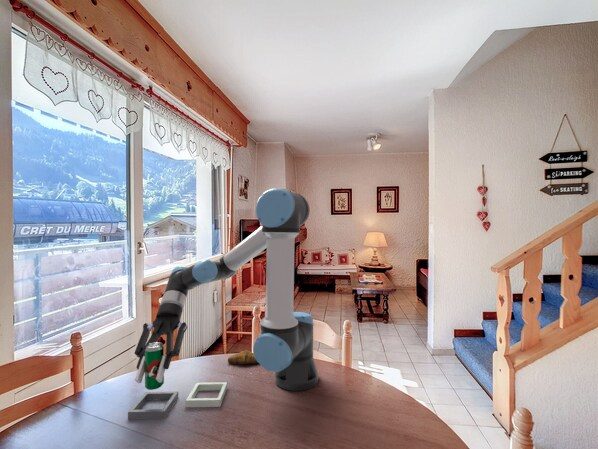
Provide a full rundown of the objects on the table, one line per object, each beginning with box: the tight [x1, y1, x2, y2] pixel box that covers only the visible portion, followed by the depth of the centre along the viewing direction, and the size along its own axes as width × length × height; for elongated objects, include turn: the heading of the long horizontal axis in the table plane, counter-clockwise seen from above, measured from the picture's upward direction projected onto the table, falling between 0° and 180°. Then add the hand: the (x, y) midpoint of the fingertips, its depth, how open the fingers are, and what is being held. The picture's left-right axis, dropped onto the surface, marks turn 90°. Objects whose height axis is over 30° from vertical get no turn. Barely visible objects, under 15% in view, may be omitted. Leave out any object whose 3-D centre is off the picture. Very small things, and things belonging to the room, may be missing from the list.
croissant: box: [227, 350, 259, 366], centre depth 115 cm, size 14×7×5 cm, turn 92°
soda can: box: [144, 341, 165, 391], centre depth 86 cm, size 5×5×12 cm
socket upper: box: [127, 391, 179, 420], centre depth 85 cm, size 10×10×2 cm
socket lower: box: [185, 381, 228, 408], centre depth 91 cm, size 10×10×2 cm
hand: (148, 381), depth 82 cm, fingers closed on soda can, 5 cm apart
